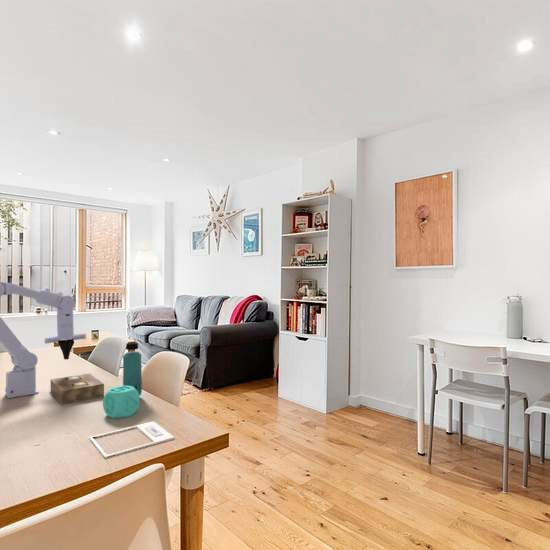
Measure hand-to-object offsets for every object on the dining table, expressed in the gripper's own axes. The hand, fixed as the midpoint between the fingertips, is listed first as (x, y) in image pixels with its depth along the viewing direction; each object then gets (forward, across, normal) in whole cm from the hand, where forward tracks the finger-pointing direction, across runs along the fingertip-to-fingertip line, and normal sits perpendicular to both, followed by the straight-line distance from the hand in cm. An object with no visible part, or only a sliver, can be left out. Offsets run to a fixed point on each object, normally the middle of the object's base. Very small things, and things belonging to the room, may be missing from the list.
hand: (66, 359), depth 158 cm
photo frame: (+11, +2, -68) cm, 69 cm away
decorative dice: (+11, +6, -47) cm, 49 cm away
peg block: (+10, 0, -15) cm, 18 cm away
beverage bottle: (+11, +14, -34) cm, 38 cm away
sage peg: (+10, 0, -10) cm, 14 cm away
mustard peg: (+10, 0, -20) cm, 22 cm away
